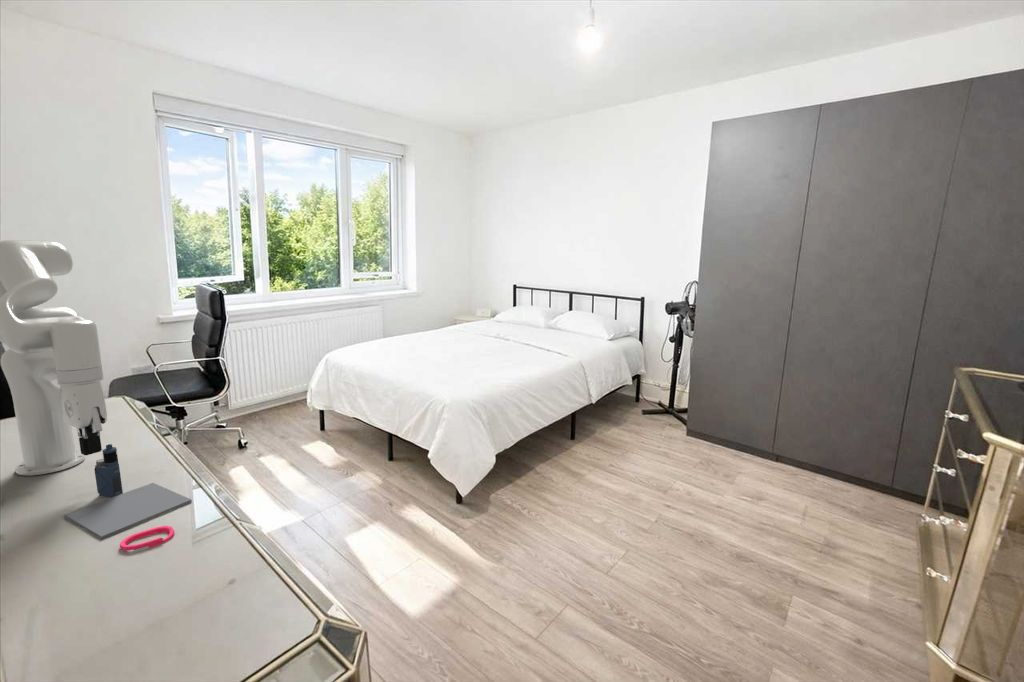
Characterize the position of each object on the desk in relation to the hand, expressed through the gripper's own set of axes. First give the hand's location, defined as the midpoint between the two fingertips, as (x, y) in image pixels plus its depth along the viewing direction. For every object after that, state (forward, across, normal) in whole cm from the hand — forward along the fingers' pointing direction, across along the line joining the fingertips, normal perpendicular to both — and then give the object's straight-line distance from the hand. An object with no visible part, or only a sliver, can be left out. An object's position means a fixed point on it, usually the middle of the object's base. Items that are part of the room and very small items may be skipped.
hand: (91, 452), depth 106 cm
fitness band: (+9, +34, -5) cm, 35 cm away
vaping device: (+9, +7, 0) cm, 11 cm away
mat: (+9, +18, -1) cm, 20 cm away
